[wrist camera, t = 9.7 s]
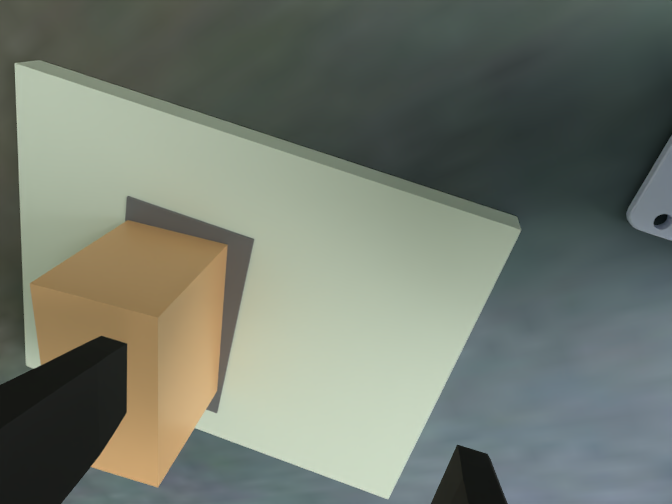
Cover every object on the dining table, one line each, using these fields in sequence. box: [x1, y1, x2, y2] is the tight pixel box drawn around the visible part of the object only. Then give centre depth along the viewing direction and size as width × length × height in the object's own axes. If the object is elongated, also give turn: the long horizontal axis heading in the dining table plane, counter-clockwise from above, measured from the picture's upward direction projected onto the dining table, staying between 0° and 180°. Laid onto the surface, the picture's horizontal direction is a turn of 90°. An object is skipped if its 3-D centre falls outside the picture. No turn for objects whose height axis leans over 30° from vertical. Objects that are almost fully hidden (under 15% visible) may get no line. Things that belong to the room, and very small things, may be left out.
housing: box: [30, 220, 228, 487], centre depth 18 cm, size 4×7×5 cm, turn 171°
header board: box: [15, 60, 521, 499], centre depth 19 cm, size 18×14×4 cm
